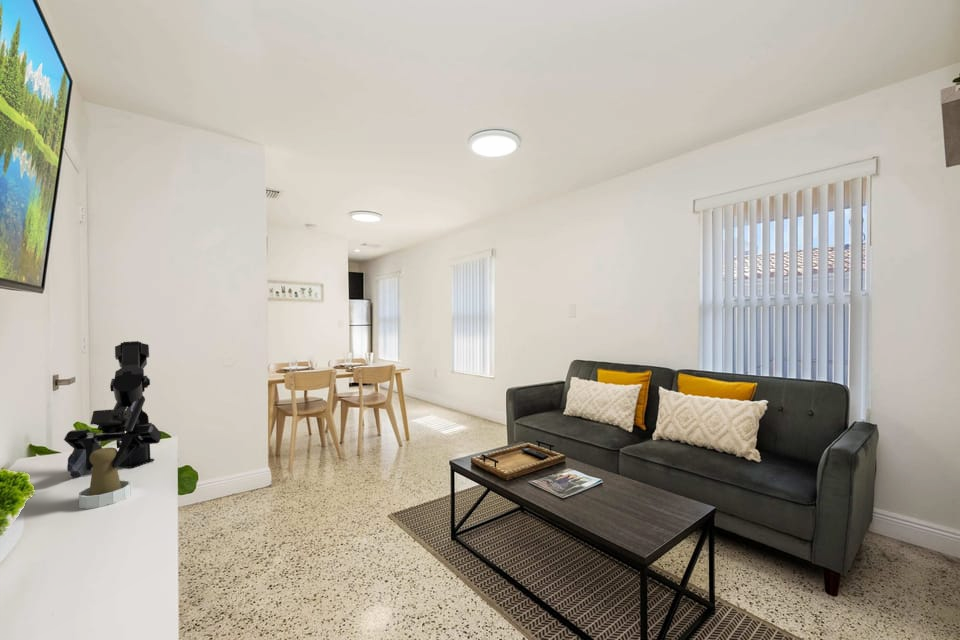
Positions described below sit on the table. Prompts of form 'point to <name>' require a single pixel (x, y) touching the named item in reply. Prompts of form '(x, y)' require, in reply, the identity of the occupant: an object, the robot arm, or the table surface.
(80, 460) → the stone
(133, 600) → the table surface
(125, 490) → the bowl
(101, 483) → the cork
